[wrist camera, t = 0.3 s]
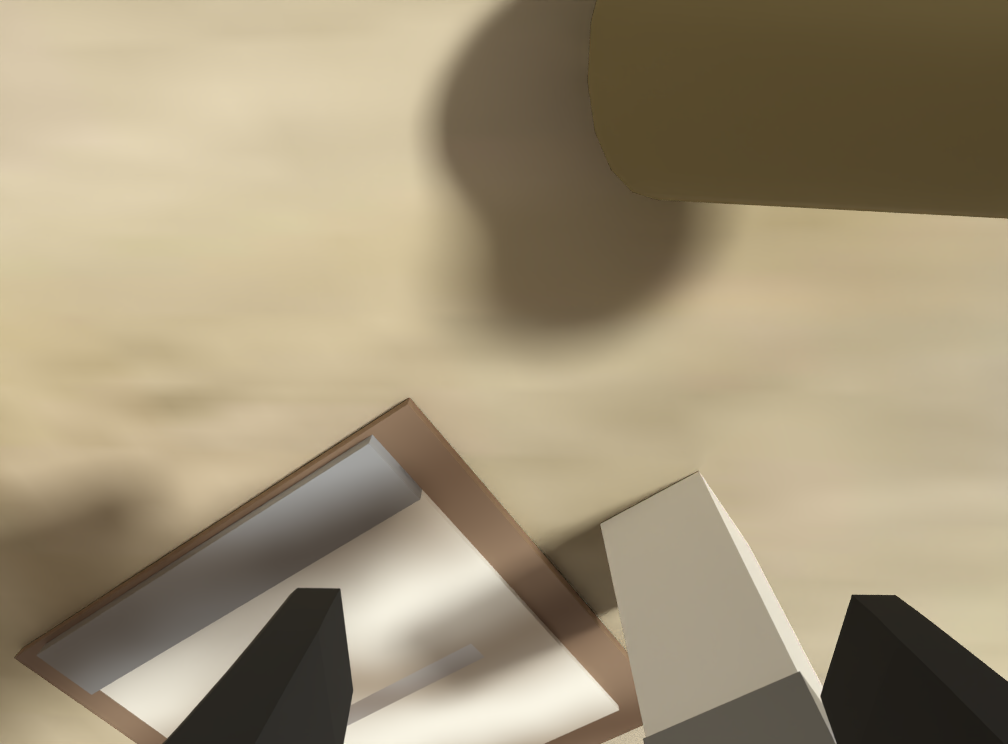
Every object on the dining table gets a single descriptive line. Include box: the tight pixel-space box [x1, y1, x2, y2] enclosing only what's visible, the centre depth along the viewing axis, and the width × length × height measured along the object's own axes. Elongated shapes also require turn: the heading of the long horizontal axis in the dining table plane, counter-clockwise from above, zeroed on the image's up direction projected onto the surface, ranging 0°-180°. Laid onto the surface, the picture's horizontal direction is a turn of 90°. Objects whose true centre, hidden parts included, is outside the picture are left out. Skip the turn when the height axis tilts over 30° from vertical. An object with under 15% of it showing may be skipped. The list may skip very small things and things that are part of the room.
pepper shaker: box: [587, 0, 1008, 219], centre depth 9 cm, size 6×6×11 cm
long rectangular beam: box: [600, 471, 837, 744], centre depth 17 cm, size 4×4×9 cm
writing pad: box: [14, 398, 643, 744], centre depth 23 cm, size 16×18×1 cm
